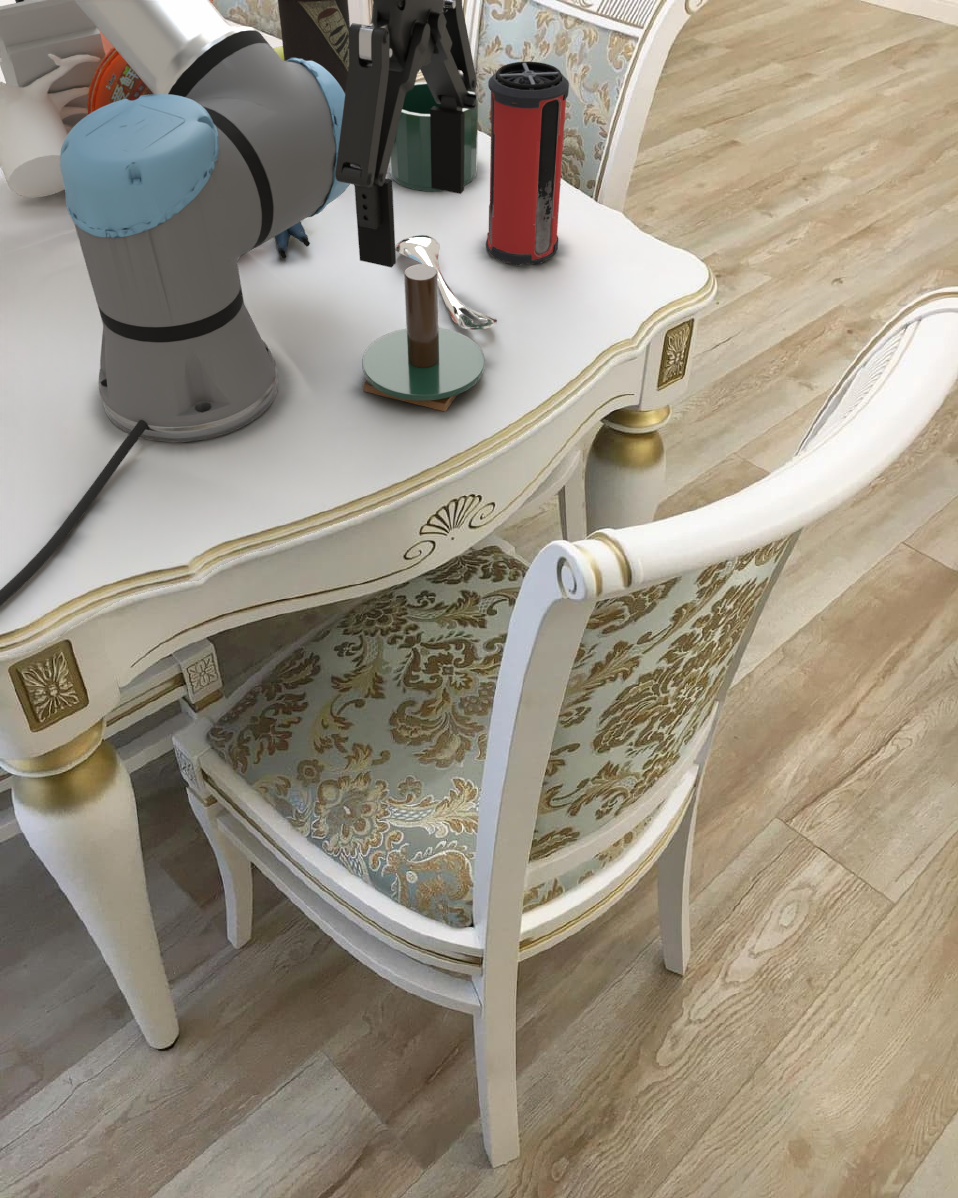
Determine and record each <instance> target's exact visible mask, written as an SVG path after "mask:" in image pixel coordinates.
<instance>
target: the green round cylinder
mask: <svg viewBox="0 0 958 1198" xmlns="http://www.w3.org/2000/svg"><path fill="white" fill-rule="evenodd" d="M467 93H470V94H476V92H475V91H474V92H469V91H468V92H467ZM433 106H436V107H441V104H438V103H436V101H435V99H434V97H433V95H432V93H431V91H430V89H429V87H428V85H427V83H426V81H420V82H415V85H414V87H413V89H412V90H410V91H408V92H407V93H406V95H405V99H404V103H403V107H402V112H401V116H400V120H399V124H398V128H397V132H396V137H395V141H394V145H393V149H392V153H391V157H390V162H389V166H388V169H389V174H390V176H391V179H392V181H394V182H395V183H397V184H398V185H400V186H401V187H405V188H407V189H410V190H416V191H423V192H444V191H443V190H438V189H433V188H431V130H430V109H431V108H432V107H433ZM462 111H464V112H465V123H464V187H465V186H467V185H468V184H470V183H472V182H473V181H474V180H475V179H476V176H477V174H478V134H479V133H478V127H479V125H478V123H479V119H478V118H479V97H478V96H477V103H476V107H475V109H474V110H471V109H466V108H462Z"/></svg>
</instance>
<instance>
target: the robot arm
mask: <svg viewBox="0 0 958 1198" xmlns="http://www.w3.org/2000/svg"><path fill="white" fill-rule="evenodd" d="M74 1H75V2H76V3H77V4H78V6H79V7H80V8H81V9H82V10H83V11H84V13H85V14H86V15H87V16H88V17H89V19H90V20H91V21H92V22H93V23H94V24H95V26H96V27H97V28H98V29H99V30H100V31H101V33H102V34H103V35H104V36H105V37H106V38H107V40H108V41H109V42H110V43H111V44H112V45H113V47H114V48H115V49H116V50H117V51H118V53H119V54H120V55H121V56H122V57H123V58H124V60H125V61H126V62H127V63H128V64H129V65H130V67H131V68H132V69H133V70H134V71H135V72H136V74H137V75H138V76H139V77H140V78H141V79H142V81H143V82H144V83H145V84H146V85H147V87H148V88H149V89H150V90H151V91H152V92H153V94H152V95H142V96H140V97H139V98H138V99H136V100H134V101H130V100H128V99H122V100H119V101H116V102H113V103H111V104H108V105H106V106H103V107H101V108H99V109H97V110H95V111H94V112H92V113H90V114H89V115H87V116H86V117H84V118H83V119H82V120H80V121H79V122H78V123H77V124H76V125H75V126H74V127H73V128H72V129H71V131H70V132H69V133H68V135H67V136H66V138H65V140H64V143H63V145H62V148H61V155H60V168H61V173H62V177H63V182H64V187H65V190H64V195H65V205H66V209H67V212H68V215H69V216H70V218H71V219H72V222H73V225H74V226H75V231H76V234H77V238H78V242H79V245H80V248H81V252H82V256H83V259H84V262H85V266H86V268H87V269H86V270H87V273H88V277H89V280H90V284H91V286H92V287H91V288H92V291H93V295H94V298H95V301H96V305H97V307H98V312H99V315H100V318H101V322H102V335H101V347H100V359H99V361H100V362H99V372H98V391H99V395H100V399H101V402H102V405H103V409H104V411H105V414H106V416H107V417H108V419H109V420H110V421H111V422H112V423H113V424H114V425H115V426H117V427H118V428H119V429H121V430H122V431H124V432H126V433H128V435H127V436H126V438H125V439H124V440H123V441H122V443H121V444H120V446H118V448H117V449H116V451H115V452H114V453H113V455H112V456H111V458H110V459H109V460H108V462H107V463H106V464H105V466H104V467H103V469H102V470H101V472H100V473H99V474H98V476H97V477H96V478H95V480H94V481H93V483H92V484H91V486H90V487H89V488H88V489H87V490H86V492H85V493H84V495H83V496H82V497H81V499H80V500H79V501H78V503H77V504H76V505H75V507H74V508H73V509H72V511H71V512H70V513H69V515H68V516H67V517H66V519H65V520H64V521H63V523H62V524H61V525H60V526H59V527H58V529H57V530H56V531H55V533H54V534H53V535H52V536H51V538H50V539H49V540H48V541H47V542H46V543H45V544H44V546H43V547H42V548H41V549H40V550H39V551H38V553H36V554H35V555H34V557H32V559H30V561H29V562H28V563H27V564H26V565H25V566H24V567H23V568H22V569H21V570H20V571H19V572H17V573H16V575H14V577H13V578H12V579H11V580H9V581H8V582H7V583H6V584H5V585H4V586H3V587H2V588H1V589H0V607H1V606H2V605H3V604H4V603H6V602H7V601H8V600H9V599H10V598H11V597H12V596H14V594H15V593H17V592H18V591H19V590H20V589H21V588H22V587H24V585H25V584H26V583H27V582H28V581H29V580H30V579H31V578H32V577H33V576H34V575H35V574H36V573H37V572H38V571H39V570H40V569H41V567H43V565H44V564H46V562H47V561H48V560H49V559H50V558H51V556H53V555H54V553H55V552H56V551H57V550H58V549H59V547H60V546H61V545H62V543H64V541H65V540H66V539H67V537H68V536H69V535H70V533H71V532H72V530H74V528H75V527H76V526H77V524H78V523H79V521H80V520H81V518H82V517H83V516H84V515H85V513H86V512H87V511H88V509H89V508H90V507H91V505H92V504H93V502H94V501H95V499H96V498H97V497H98V496H99V495H100V493H101V492H102V490H103V489H104V487H105V486H106V485H107V483H108V482H109V480H110V479H111V477H112V476H113V475H114V473H115V472H116V470H117V469H118V467H119V466H120V465H121V463H122V462H123V461H124V459H125V458H126V457H127V455H128V454H129V452H130V451H131V450H132V449H133V447H134V446H135V445H136V443H137V442H138V440H139V439H140V438H141V439H145V440H149V441H154V442H163V443H164V442H165V443H187V442H197V441H204V440H209V439H212V438H217V437H220V436H223V435H227V434H229V433H231V432H235V431H237V430H239V429H241V428H243V427H245V426H246V425H249V424H250V423H252V422H254V421H255V420H256V419H258V418H259V417H260V416H261V415H263V414H264V413H265V411H267V410H268V408H269V407H270V406H271V405H272V403H273V401H274V400H275V398H276V396H277V393H278V390H279V377H278V372H277V365H276V361H275V358H274V356H273V353H272V352H271V349H270V348H269V346H268V345H267V343H266V342H265V340H263V339H262V337H261V334H260V333H259V330H258V328H257V326H256V324H255V321H254V320H253V318H252V316H251V315H250V313H249V310H248V308H247V306H246V304H245V300H244V295H243V289H242V283H241V277H240V271H239V264H238V261H239V259H240V258H241V257H242V256H244V255H245V254H247V253H249V252H250V251H252V250H253V249H256V248H257V247H260V246H261V245H262V244H264V243H266V242H267V241H270V240H272V239H273V238H275V236H276V235H278V234H280V233H281V232H283V231H285V230H287V229H288V228H290V227H292V226H293V225H295V224H297V223H298V222H302V221H304V220H306V219H307V218H313V217H314V216H316V215H318V214H320V213H321V212H323V211H324V210H325V208H326V207H327V205H329V204H330V203H332V202H333V201H335V200H336V199H339V197H340V196H341V195H343V194H344V192H345V191H346V190H347V189H348V187H349V186H350V185H353V186H354V197H355V199H354V200H355V213H356V225H357V226H356V227H357V239H358V255H359V261H361V262H365V263H369V264H374V265H378V266H382V267H387V268H393V267H394V266H395V265H396V264H397V259H396V258H397V257H396V251H395V246H396V237H395V235H396V234H395V232H396V231H395V212H394V190H393V179H392V178H391V179H390V178H387V175H388V170H389V162H390V157H391V153H392V149H393V145H394V141H395V137H396V132H397V128H398V124H399V120H400V116H401V112H402V107H403V103H404V99H405V95H406V93H407V92H408V91H410V90H412V89H413V87H414V85H415V83H416V81H417V78H418V74H419V72H421V74H422V76H423V78H424V81H425V82H426V83H427V85H428V87H429V89H430V91H431V93H432V95H433V97H434V99H435V101H436V103H438V104H441V107H436V106H433V107H432V108H431V109H430V130H431V188H433V189H438V190H443V191H442V192H444V191H445V192H448V193H449V192H450V193H454V194H459V195H462V193H463V192H464V191H465V186H464V123H465V112H464V111H462V108H466V109H471V110H474V109H475V107H476V103H477V97H478V95H477V94H476V93H475V91H476V88H477V85H478V81H477V74H476V69H475V64H474V58H473V53H472V48H471V43H470V39H469V33H468V29H467V24H466V23H467V22H466V18H465V12H464V8H463V7H464V6H463V0H372V10H371V11H372V12H371V18H370V24H361V23H353V22H352V23H350V28H349V68H348V76H347V84H346V92H345V93H344V91H343V90H342V88H341V86H340V85H339V83H338V82H337V81H336V79H335V78H334V77H333V76H332V75H331V74H330V73H329V72H328V71H327V70H326V69H325V68H324V67H322V66H321V65H319V64H318V63H316V62H314V61H305V60H303V59H298V58H290V59H288V60H287V61H283V60H282V59H281V58H280V57H279V55H278V54H277V53H276V52H275V50H274V49H273V48H274V47H272V45H271V44H270V43H269V42H268V41H267V39H266V38H265V37H264V36H263V34H262V33H261V32H260V31H259V30H258V29H257V28H255V27H252V26H241V25H240V26H239V25H230V23H229V22H228V21H227V20H226V19H225V18H224V16H223V15H222V14H221V12H220V11H218V9H217V8H216V7H215V5H214V4H212V3H211V2H210V1H209V0H74ZM459 71H461V72H459ZM468 91H469V92H474V93H475V94H470V93H467V92H468Z"/></svg>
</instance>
